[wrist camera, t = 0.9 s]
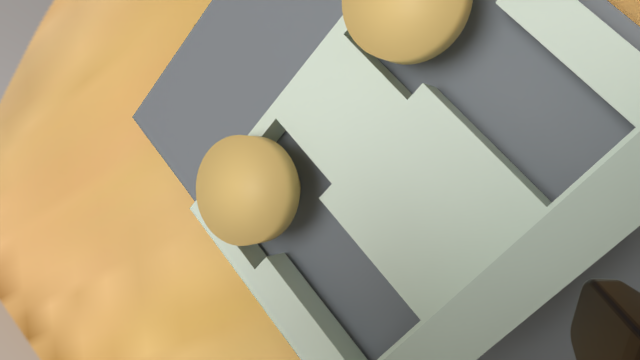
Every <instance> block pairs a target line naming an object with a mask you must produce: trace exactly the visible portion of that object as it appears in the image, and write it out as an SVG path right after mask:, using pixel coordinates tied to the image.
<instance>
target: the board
mask: <svg viewBox="0 0 640 360" xmlns="http://www.w3.org/2000/svg"><path fill="white" fill-rule="evenodd" d="M496 1H497V0H212V1H211V3H210V4H209V6H208V7H207V8H206V10H205V11H204V13H203V14H202V16H201V17H200V19H199V20H198V22H197V23H196V25H195V26H194V28H193V29H192V30H191V32H190V33H189V35H188V36H187V38H186V39H185V41H184V42H183V44H182V45H181V47H180V48H179V50H178V51H177V52H176V54H175V55H174V57H173V58H172V60H171V61H170V63H169V64H168V66H167V67H166V69H165V70H164V71H163V73H162V74H161V76H160V77H159V79H158V80H157V82H156V83H155V85H154V86H153V88H152V89H151V91H150V92H149V93H148V95H147V96H146V98H145V99H144V101H143V102H142V104H141V105H140V107H139V108H138V110H137V111H136V113H135V114H134V115H133V119H134V120H135V121H136V123H137V124H138V125H139V127H140V128H141V129H142V131H143V132H144V133H145V135H146V136H147V137H148V139H149V140H150V141H151V143H152V144H153V146H154V147H155V148H156V150H157V151H158V152H159V154H160V155H161V156H162V158H163V159H164V160H165V162H166V163H167V164H168V166H169V167H170V168H171V170H172V171H173V172H174V174H175V175H176V177H177V178H178V179H179V181H180V182H181V183H182V185H183V186H184V187H185V189H186V190H187V191H188V193H189V194H190V195H191V197H192V198H193V199H194V201H196V200H197V204H198V208H199V211H200V214H201V216H202V218H203V220H204V222H205V224H206V225H207V227H208V228H209V229H210V231H211V232H212V233H213V234H214V235H215V236H216V237H218V238H219V239H221V240H222V241H224V242H226V243H228V244H231V245H236V246H247V245H252V244H258V245H259V247H260V248H261V249H262V251H263V252H264V253H265V255H266V256H267V257H268V256H272V255H276V254H280V253H285V254H286V255H287V257H288V258H289V259H290V261H291V262H292V263H293V264H294V266H295V267H296V268H297V270H298V271H299V272H300V273H301V275H302V276H303V277H304V279H305V280H306V281H307V282H308V284H309V285H310V286H311V288H312V289H313V290H314V291H315V293H316V294H317V295H318V297H319V298H320V299H321V300H322V302H323V303H324V304H325V306H326V307H327V308H328V309H329V311H330V312H331V313H332V314H333V316H334V317H335V318H336V320H337V321H338V322H339V323H340V325H341V326H342V327H343V329H344V330H345V331H346V332H347V334H348V335H349V336H350V338H351V339H352V340H353V341H354V343H355V344H356V345H357V347H358V348H359V349H360V350H361V352H362V353H363V354H364V356H365V357H366V358H367V359H368V360H377V359H378V358H379V357H380V356H382V355H383V354H384V353H385V352H386V351H387V350H388V349H389V348H390V347H392V346H393V345H394V344H395V343H396V342H397V341H398V340H399V339H400V338H402V337H403V336H404V335H405V334H406V333H407V332H408V331H409V330H411V329H412V328H413V327H414V326H415V325H416V324H417V323H418V322H419V321H421V320H420V319H419V318H418V316H417V315H416V314H415V313H414V312H413V310H412V309H411V308H410V307H409V306H408V304H407V303H406V302H405V301H404V300H403V298H402V297H401V296H400V295H399V294H398V292H397V291H396V290H395V289H394V288H393V286H392V285H391V284H390V283H389V282H388V280H387V279H386V278H385V277H384V276H383V274H382V273H381V272H380V271H379V270H378V268H377V267H376V266H375V265H374V264H373V263H372V261H371V260H370V259H369V258H368V257H367V255H366V254H365V253H364V252H363V251H362V249H361V248H360V247H359V246H358V245H357V243H356V242H355V241H354V240H353V239H352V237H351V236H350V235H349V234H348V233H347V231H346V230H345V229H344V228H343V227H342V225H341V224H340V223H339V222H338V221H337V219H336V218H335V217H334V216H333V215H332V213H331V212H330V211H329V210H328V209H327V207H326V206H325V205H324V204H323V203H322V201H321V200H320V199H319V198H320V196H321V195H322V194H323V193H324V192H325V191H326V190H327V189H328V188H329V186H330V185H331V184H332V183H331V182H330V181H329V180H328V179H327V178H326V176H325V175H324V174H323V173H322V172H321V171H320V169H319V168H318V167H317V166H316V165H315V164H314V162H313V161H312V160H311V159H310V158H309V157H308V155H307V154H306V153H305V152H304V151H303V149H302V148H301V147H300V146H299V145H298V144H297V142H296V141H295V140H294V139H293V138H292V137H291V135H290V134H289V133H288V132H287V131H285V132H284V133H283V134H282V136H281V137H280V138H279V139H278V140H277V142H275V141H273V140H271V139H268V138H266V137H261V136H248V134H249V133H250V132H251V130H252V129H253V128H254V127H255V125H256V124H257V123H258V122H259V120H260V119H261V118H262V116H263V115H264V114H265V113H266V111H267V110H268V109H269V108H270V106H271V105H272V104H273V103H274V101H275V100H276V99H277V97H278V96H279V95H280V94H281V92H282V91H283V90H284V89H285V87H286V86H287V85H288V84H289V82H290V81H291V80H292V79H293V77H294V76H295V75H296V73H297V72H298V71H299V70H300V68H301V67H302V66H303V65H304V63H305V62H306V61H307V60H308V58H309V57H310V56H311V55H312V53H313V52H314V51H315V49H316V48H317V47H318V46H319V44H320V43H321V42H322V41H323V39H324V38H325V37H326V36H327V34H328V33H329V32H330V30H331V29H332V28H333V27H334V25H335V24H336V23H337V22H338V20H339V19H340V18H341V17H342V15H343V19H344V22H345V25H346V28H347V30H348V32H349V34H350V35H351V37H352V39H353V40H354V41H355V42H356V44H357V45H358V46H359V47H361V48H362V49H363V50H364V51H366V52H367V53H369V54H371V55H373V56H375V57H376V58H377V59H378V60H379V61H380V62H381V63H382V64H383V65H384V66H385V67H386V68H387V69H388V70H389V71H390V72H391V73H392V74H393V75H394V76H395V77H396V78H397V79H398V80H399V81H400V82H401V83H402V84H403V85H404V86H405V87H406V88H407V89H408V91H409V92H410V93H411V94H413V93H414V92H415V91H416V90H417V89H418V88H419V87H420V85H421V84H422V83H425V84H428V85H431V86H434V87H436V88H437V89H438V90H439V91H440V92H441V93H442V94H443V95H444V96H445V97H446V98H447V99H448V100H449V101H450V102H451V103H452V104H453V105H454V106H455V107H456V108H457V109H458V110H459V111H460V112H461V113H462V114H463V115H464V116H465V117H466V118H467V119H468V120H469V121H470V122H471V123H472V124H473V125H474V126H475V127H476V128H477V129H478V130H479V131H480V132H481V133H482V134H483V135H484V136H485V137H487V138H488V139H489V140H490V141H491V142H492V143H493V144H494V145H495V146H496V147H497V148H498V149H499V150H500V151H501V152H502V153H503V154H504V155H505V156H506V157H507V158H508V159H509V160H510V161H511V162H512V163H513V164H514V165H515V166H516V167H517V168H518V169H519V170H520V171H521V172H522V173H523V174H524V175H525V176H526V177H527V178H528V179H529V180H530V181H531V182H532V183H533V184H534V185H535V186H536V187H537V188H538V189H539V190H540V191H541V192H542V193H543V194H544V195H545V196H546V197H547V198H548V199H549V200H550V201H551V202H553V201H554V200H555V199H556V198H558V197H559V196H560V195H561V194H562V193H563V192H564V191H565V190H566V189H568V188H569V187H570V186H571V185H572V184H573V183H574V182H575V181H577V180H578V179H579V178H580V177H581V176H582V175H583V174H584V173H585V172H587V171H588V170H589V169H590V168H591V167H592V166H593V165H594V164H595V163H597V162H598V161H599V160H600V159H601V158H602V157H603V156H604V155H605V154H607V153H608V152H609V151H610V150H611V149H612V148H613V147H614V146H616V145H617V144H618V143H619V142H620V141H621V140H622V139H623V138H624V137H626V136H627V135H628V134H629V133H630V132H631V131H632V130H633V129H634V128H636V127H635V126H634V125H633V124H631V123H630V122H629V121H628V120H627V119H626V118H625V117H624V116H622V115H621V114H620V113H619V112H618V111H617V110H616V109H614V108H613V107H612V106H611V105H610V104H609V103H608V102H607V101H605V100H604V99H603V98H602V97H601V96H600V95H599V94H598V93H596V92H595V91H594V90H593V89H592V88H591V87H590V86H589V85H587V84H586V83H585V82H584V81H583V80H582V79H581V78H579V77H578V76H577V75H576V74H575V73H574V72H573V71H572V70H570V69H569V68H568V67H567V66H566V65H565V64H564V63H563V62H561V61H560V60H559V59H558V58H557V57H556V56H555V55H553V54H552V53H551V52H550V51H549V50H548V49H547V48H546V47H544V46H543V45H542V44H541V43H540V42H539V41H538V40H537V39H535V38H534V37H533V36H532V35H531V34H530V33H529V32H528V31H526V30H525V29H524V28H523V27H522V26H521V25H520V24H518V23H517V22H516V21H515V20H514V19H513V18H512V17H511V16H509V15H508V14H507V13H506V12H505V11H504V10H503V9H502V8H500V7H499V6H498V5H497V4H496V3H495V2H496ZM578 1H579V2H580V3H582V4H583V5H584V6H585V7H586V8H588V9H589V10H590V11H591V12H593V13H594V14H595V15H596V16H597V17H599V18H600V19H601V20H602V21H603V22H605V23H606V24H607V25H608V26H609V27H611V28H612V29H613V30H614V31H615V32H617V33H618V34H619V35H620V36H621V37H623V38H624V39H625V40H626V41H627V42H629V43H630V44H631V45H632V46H633V47H635V48H636V49H637V50H638V51H639V52H640V27H639V26H638V25H637V24H635V23H634V22H633V21H632V20H630V19H629V18H628V17H627V16H626V15H624V14H623V13H622V12H621V11H619V10H618V9H617V8H616V7H614V6H613V5H612V4H611V3H610V2H608V1H607V0H578ZM592 278H593V279H617V280H620V281H622V282H624V283H626V284H627V285H629V286H630V287H632V288H634V289H635V290H637V291H639V292H640V226H639V227H638V228H636V229H635V230H634V231H633V232H631V233H630V234H629V235H628V236H627V237H625V238H624V239H623V240H622V241H620V242H619V243H618V244H617V245H616V246H614V247H613V248H612V249H611V250H610V251H608V252H607V253H606V254H605V255H603V256H602V257H601V258H600V259H599V260H597V261H596V262H595V263H594V264H592V265H591V266H590V267H589V268H588V269H586V270H585V271H584V272H583V273H581V274H580V275H579V276H578V277H577V278H575V279H574V280H573V281H572V282H571V283H569V284H568V285H567V286H566V287H564V288H563V289H562V290H561V291H560V292H558V293H557V294H556V295H555V296H553V297H552V298H551V299H550V300H549V301H547V302H546V303H545V304H544V305H542V306H541V307H540V308H539V309H538V310H536V311H535V312H534V313H533V314H531V315H530V316H529V317H528V318H527V319H525V320H524V321H523V322H522V323H521V324H519V325H518V326H517V327H516V328H514V329H513V330H512V331H511V332H510V333H508V334H507V335H506V336H505V337H503V338H502V339H501V340H500V341H499V342H497V343H496V344H495V345H494V346H492V347H491V348H490V349H489V350H488V351H486V352H485V353H484V354H483V355H482V356H480V357H479V358H478V359H477V360H576V358H575V354H574V351H573V347H572V343H571V337H570V329H571V323H572V319H573V316H574V312H575V309H576V305H577V302H578V298H579V295H580V292H581V288H582V286H583V284H584V283H585V281H587V280H589V279H592Z"/></svg>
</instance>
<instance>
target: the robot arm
mask: <svg viewBox="0 0 640 360" xmlns="http://www.w3.org/2000/svg"><path fill="white" fill-rule="evenodd" d="M570 337H571V343H572V347H573V351H574V354H575V358H576V360H640V292H639V291H637V290H635V289H634V288H632V287H630V286H629V285H627V284H626V283H624V282H622V281H620V280H617V279H593V278H592V279H589V280H587V281H585V283H584V284H583V286H582V288H581V292H580V295H579V298H578V302H577V305H576V309H575V312H574V316H573V319H572V323H571V329H570Z"/></svg>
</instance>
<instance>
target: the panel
mask: <svg viewBox="0 0 640 360" xmlns="http://www.w3.org/2000/svg"><path fill="white" fill-rule="evenodd" d="M495 3H496V4H497V5H498V6H499V7H500V8H502V9H503V10H504V11H505V12H506V13H507V14H508V15H509V16H511V17H512V18H513V19H514V20H515V21H516V22H517V23H518V24H520V25H521V26H522V27H523V28H524V29H525V30H526V31H528V32H529V33H530V34H531V35H532V36H533V37H534V38H535V39H537V40H538V41H539V42H540V43H541V44H542V45H543V46H544V47H546V48H547V49H548V50H549V51H550V52H551V53H552V54H553V55H555V56H556V57H557V58H558V59H559V60H560V61H561V62H563V63H564V64H565V65H566V66H567V67H568V68H569V69H570V70H572V71H573V72H574V73H575V74H576V75H577V76H578V77H579V78H581V79H582V80H583V81H584V82H585V83H586V84H587V85H589V86H590V87H591V88H592V89H593V90H594V91H595V92H596V93H598V94H599V95H600V96H601V97H602V98H603V99H604V100H605V101H607V102H608V103H609V104H610V105H611V106H612V107H613V108H614V109H616V110H617V111H618V112H619V113H620V114H621V115H622V116H624V117H625V118H626V119H627V120H628V121H629V122H630V123H631V124H633V125H634V126H635V127H636V128H634V129H633V130H632V131H631V132H630V133H629V134H628V135H627V136H626V137H624V138H623V139H622V140H621V141H620V142H619V143H618V144H617V145H616V146H614V147H613V148H612V149H611V150H610V151H609V152H608V153H607V154H605V155H604V156H603V157H602V158H601V159H600V160H599V161H598V162H597V163H595V164H594V165H593V166H592V167H591V168H590V169H589V170H588V171H587V172H585V173H584V174H583V175H582V176H581V177H580V178H579V179H578V180H577V181H575V182H574V183H573V184H572V185H571V186H570V187H569V188H568V189H566V190H565V191H564V192H563V193H562V194H561V195H560V196H559V197H558V198H556V199H555V200H554V201H553V202H551V201H550V200H549V199H548V198H547V197H546V196H545V195H544V194H543V193H542V192H541V191H540V190H539V189H538V188H537V187H536V186H535V185H534V184H533V183H532V182H531V181H530V180H529V179H528V178H527V177H526V176H525V175H524V174H523V173H522V172H521V171H520V170H519V169H518V168H517V167H516V166H515V165H514V164H513V163H512V162H511V161H510V160H509V159H508V158H507V157H506V156H505V155H504V154H503V153H502V152H501V151H500V150H499V149H498V148H497V147H496V146H495V145H494V144H493V143H492V142H491V141H490V140H489V139H488V138H487V137H485V136H484V135H483V134H482V133H481V132H480V131H479V130H478V129H477V128H476V127H475V126H474V125H473V124H472V123H471V122H470V121H469V120H468V119H467V118H466V117H465V116H464V115H463V114H462V113H461V112H460V111H459V110H458V109H457V108H456V107H455V106H454V105H453V104H452V103H451V102H450V101H449V100H448V99H447V98H446V97H445V96H444V95H443V94H442V93H441V92H440V91H439V90H438V89H437V88H436V87H434V86H431V85H428V84H425V83H422V84H421V85H420V87H419V88H418V89H417V90H416V91H415V92H414V93H413V94H411V93H410V92H409V91H408V89H407V88H406V87H405V86H404V85H403V84H402V83H401V82H400V81H399V80H398V79H397V78H396V77H395V76H394V75H393V74H392V73H391V72H390V71H389V70H388V69H387V68H386V67H385V66H384V65H383V64H382V63H381V62H380V61H379V60H378V59H377V58H376V57H375V56H373V55H371V54H369V53H367V52H366V51H364V50H363V49H362V48H361V47H359V46H358V45H357V44H356V42H355V41H354V40H353V39H352V37H351V35H350V34H349V32H348V30H347V28H346V25H345V22H344V19H343V15H342V17H341V18H340V19H339V20H338V22H337V23H336V24H335V25H334V27H333V28H332V29H331V30H330V32H329V33H328V34H327V36H326V37H325V38H324V39H323V41H322V42H321V43H320V44H319V46H318V47H317V48H316V49H315V51H314V52H313V53H312V55H311V56H310V57H309V58H308V60H307V61H306V62H305V63H304V65H303V66H302V67H301V68H300V70H299V71H298V72H297V73H296V75H295V76H294V77H293V79H292V80H291V81H290V82H289V84H288V85H287V86H286V87H285V89H284V90H283V91H282V92H281V94H280V95H279V96H278V97H277V99H276V100H275V101H274V103H273V104H272V105H271V106H270V108H269V109H268V110H267V111H266V113H265V114H264V115H263V116H262V118H261V119H260V120H259V122H258V123H257V124H256V125H255V127H254V128H253V129H252V130H251V132H250V133H249V134H248V136H261V137H266V138H268V139H271V140H273V141H275V142H277V140H278V139H279V138H280V137H281V136H282V134H283V133H284V132H285V131H287V132H288V133H289V134H290V135H291V137H292V138H293V139H294V140H295V141H296V142H297V144H298V145H299V146H300V147H301V148H302V149H303V151H304V152H305V153H306V154H307V155H308V157H309V158H310V159H311V160H312V161H313V162H314V164H315V165H316V166H317V167H318V168H319V169H320V171H321V172H322V173H323V174H324V175H325V176H326V178H327V179H328V180H329V181H330V182H331V183H332V184H331V185H330V186H329V188H328V189H327V190H326V191H325V192H324V193H323V194H322V195H321V196H320V198H319V199H320V200H321V201H322V203H323V204H324V205H325V206H326V207H327V209H328V210H329V211H330V212H331V213H332V215H333V216H334V217H335V218H336V219H337V221H338V222H339V223H340V224H341V225H342V227H343V228H344V229H345V230H346V231H347V233H348V234H349V235H350V236H351V237H352V239H353V240H354V241H355V242H356V243H357V245H358V246H359V247H360V248H361V249H362V251H363V252H364V253H365V254H366V255H367V257H368V258H369V259H370V260H371V261H372V263H373V264H374V265H375V266H376V267H377V268H378V270H379V271H380V272H381V273H382V274H383V276H384V277H385V278H386V279H387V280H388V282H389V283H390V284H391V285H392V286H393V288H394V289H395V290H396V291H397V292H398V294H399V295H400V296H401V297H402V298H403V300H404V301H405V302H406V303H407V304H408V306H409V307H410V308H411V309H412V310H413V312H414V313H415V314H416V315H417V316H418V318H419V319H420V320H421V321H419V322H418V323H417V324H416V325H415V326H414V327H413V328H412V329H411V330H409V331H408V332H407V333H406V334H405V335H404V336H403V337H402V338H400V339H399V340H398V341H397V342H396V343H395V344H394V345H393V346H392V347H390V348H389V349H388V350H387V351H386V352H385V353H384V354H383V355H382V356H380V357H379V358H378V359H377V360H477V359H478V358H479V357H480V356H482V355H483V354H484V353H485V352H486V351H488V350H489V349H490V348H491V347H492V346H494V345H495V344H496V343H497V342H499V341H500V340H501V339H502V338H503V337H505V336H506V335H507V334H508V333H510V332H511V331H512V330H513V329H514V328H516V327H517V326H518V325H519V324H521V323H522V322H523V321H524V320H525V319H527V318H528V317H529V316H530V315H531V314H533V313H534V312H535V311H536V310H538V309H539V308H540V307H541V306H542V305H544V304H545V303H546V302H547V301H549V300H550V299H551V298H552V297H553V296H555V295H556V294H557V293H558V292H560V291H561V290H562V289H563V288H564V287H566V286H567V285H568V284H569V283H571V282H572V281H573V280H574V279H575V278H577V277H578V276H579V275H580V274H581V273H583V272H584V271H585V270H586V269H588V268H589V267H590V266H591V265H592V264H594V263H595V262H596V261H597V260H599V259H600V258H601V257H602V256H603V255H605V254H606V253H607V252H608V251H610V250H611V249H612V248H613V247H614V246H616V245H617V244H618V243H619V242H620V241H622V240H623V239H624V238H625V237H627V236H628V235H629V234H630V233H631V232H633V231H634V230H635V229H636V228H638V227H639V226H640V52H639V51H638V50H637V49H636V48H635V47H633V46H632V45H631V44H630V43H629V42H627V41H626V40H625V39H624V38H623V37H621V36H620V35H619V34H618V33H617V32H615V31H614V30H613V29H612V28H611V27H609V26H608V25H607V24H606V23H605V22H603V21H602V20H601V19H600V18H599V17H597V16H596V15H595V14H594V13H593V12H591V11H590V10H589V9H588V8H586V7H585V6H584V5H583V4H582V3H580V2H579V1H578V0H497V1H496V2H495ZM190 209H191V211H192V212H193V214H194V215H195V216H196V218H197V219H198V220H199V222H200V223H201V224H202V226H203V227H204V229H205V230H206V231H207V233H208V234H209V235H210V237H211V238H212V239H213V241H214V242H215V243H216V245H217V246H218V248H219V249H220V250H221V252H222V253H223V254H224V256H225V257H226V258H227V260H228V261H229V263H230V264H231V265H232V267H233V268H234V269H235V271H236V272H237V273H238V275H239V276H240V278H241V279H242V280H243V282H244V283H245V284H246V286H247V287H248V288H249V290H250V291H251V293H252V294H253V295H254V297H255V298H256V299H257V301H258V302H259V303H260V305H261V306H262V307H263V309H264V310H265V312H266V313H267V314H268V316H269V317H270V318H271V320H272V321H273V322H274V324H275V325H276V327H277V328H278V329H279V331H280V332H281V333H282V335H283V336H284V337H285V339H286V340H287V342H288V343H289V344H290V346H291V347H292V348H293V350H294V351H295V352H296V354H297V355H298V357H299V358H300V359H301V360H368V359H367V358H366V357H365V356H364V354H363V353H362V352H361V350H360V349H359V348H358V347H357V345H356V344H355V343H354V341H353V340H352V339H351V338H350V336H349V335H348V334H347V332H346V331H345V330H344V329H343V327H342V326H341V325H340V323H339V322H338V321H337V320H336V318H335V317H334V316H333V314H332V313H331V312H330V311H329V309H328V308H327V307H326V306H325V304H324V303H323V302H322V300H321V299H320V298H319V297H318V295H317V294H316V293H315V291H314V290H313V289H312V288H311V286H310V285H309V284H308V282H307V281H306V280H305V279H304V277H303V276H302V275H301V273H300V272H299V271H298V270H297V268H296V267H295V266H294V264H293V263H292V262H291V261H290V259H289V258H288V257H287V255H286V254H285V253H280V254H276V255H272V256H268V257H267V256H266V255H265V253H264V252H263V251H262V249H261V248H260V247H259V245H258V244H252V245H247V246H236V245H231V244H228V243H226V242H224V241H222V240H221V239H219V238H218V237H216V236H215V235H214V234H213V233H212V232H211V231H210V229H209V228H208V227H207V225H206V224H205V222H204V220H203V218H202V216H201V214H200V211H199V208H198V204H197V200H196V201H195V202H194V204H193V205H192V206H191V207H190Z"/></svg>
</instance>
